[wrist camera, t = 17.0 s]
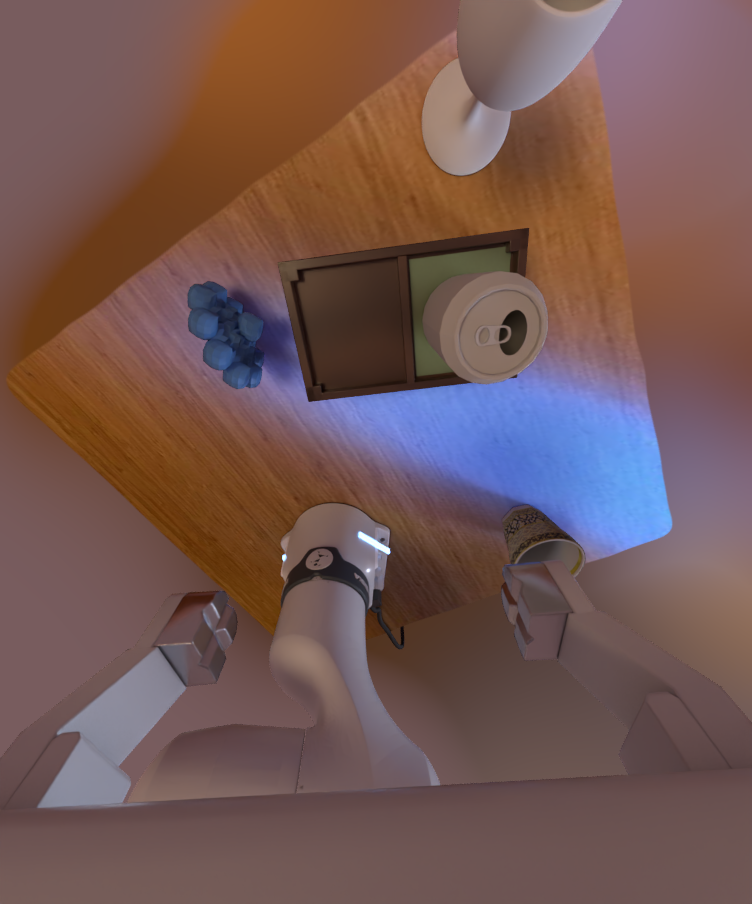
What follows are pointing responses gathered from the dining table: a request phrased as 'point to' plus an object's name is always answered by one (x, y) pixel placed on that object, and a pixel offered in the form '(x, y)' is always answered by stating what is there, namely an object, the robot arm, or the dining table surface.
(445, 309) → the can
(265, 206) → the dining table surface
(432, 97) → the wineglass
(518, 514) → the ceramic cup
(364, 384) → the tray
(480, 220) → the dining table surface
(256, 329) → the grapes
